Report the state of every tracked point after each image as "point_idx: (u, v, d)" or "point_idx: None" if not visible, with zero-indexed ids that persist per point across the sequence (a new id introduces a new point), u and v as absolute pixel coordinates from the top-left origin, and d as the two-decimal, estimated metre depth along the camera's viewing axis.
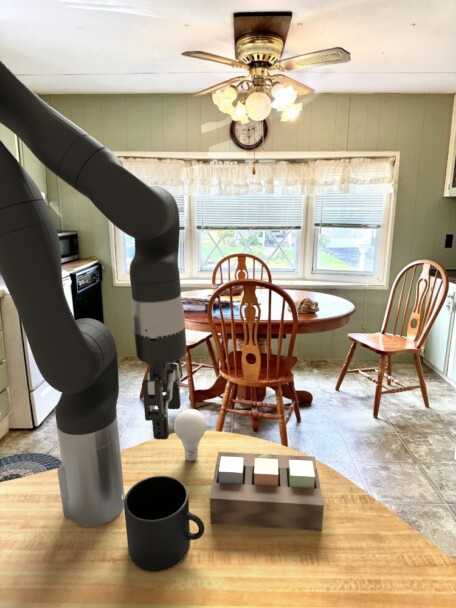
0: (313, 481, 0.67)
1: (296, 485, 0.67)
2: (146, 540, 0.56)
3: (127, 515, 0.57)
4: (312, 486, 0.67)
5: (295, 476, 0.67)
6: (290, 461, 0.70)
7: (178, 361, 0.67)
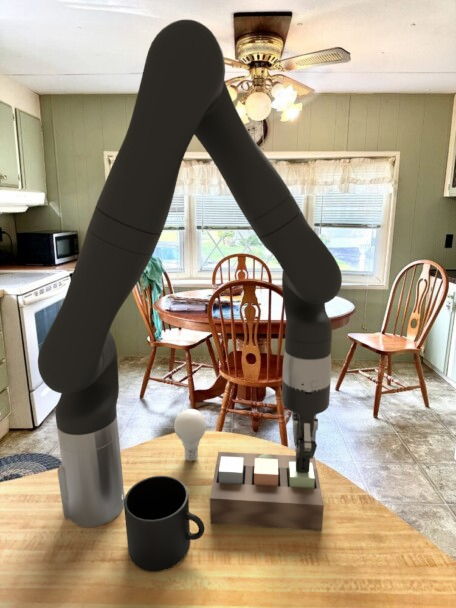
0: (312, 483, 0.67)
1: None
2: (146, 540, 0.56)
3: (127, 515, 0.57)
4: None
5: (295, 478, 0.67)
6: (290, 463, 0.70)
7: None
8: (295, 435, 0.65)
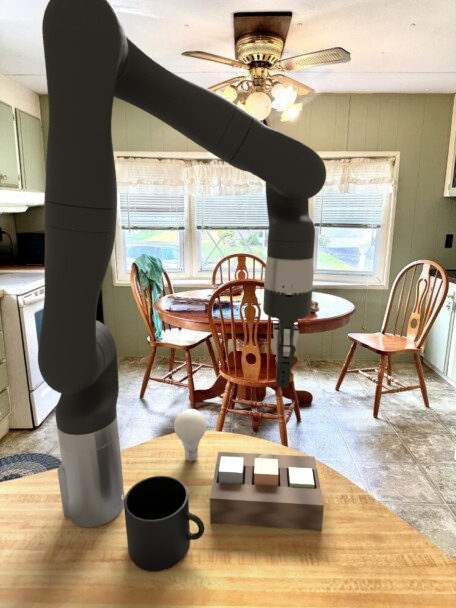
0: None
1: None
2: (146, 540, 0.56)
3: (127, 515, 0.57)
4: None
5: (295, 484, 0.67)
6: (290, 469, 0.71)
7: None
8: (275, 345, 0.64)
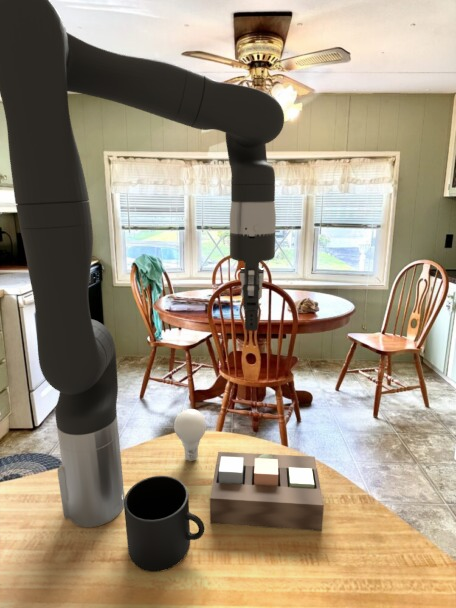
0: None
1: None
2: (146, 540, 0.56)
3: (127, 515, 0.57)
4: None
5: (295, 484, 0.67)
6: (290, 469, 0.71)
7: None
8: None
